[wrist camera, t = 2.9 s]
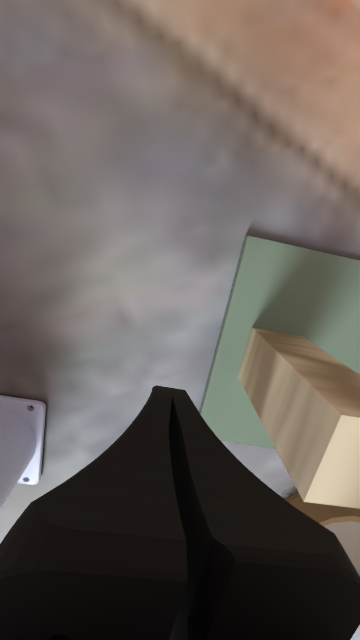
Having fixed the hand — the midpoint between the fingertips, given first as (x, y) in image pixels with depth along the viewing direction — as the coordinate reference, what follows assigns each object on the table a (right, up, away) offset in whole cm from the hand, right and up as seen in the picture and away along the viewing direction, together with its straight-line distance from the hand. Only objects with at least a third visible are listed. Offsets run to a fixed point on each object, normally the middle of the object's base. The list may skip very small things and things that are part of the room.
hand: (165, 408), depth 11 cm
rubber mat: (+13, 0, +10) cm, 17 cm away
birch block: (+7, +1, +9) cm, 11 cm away
